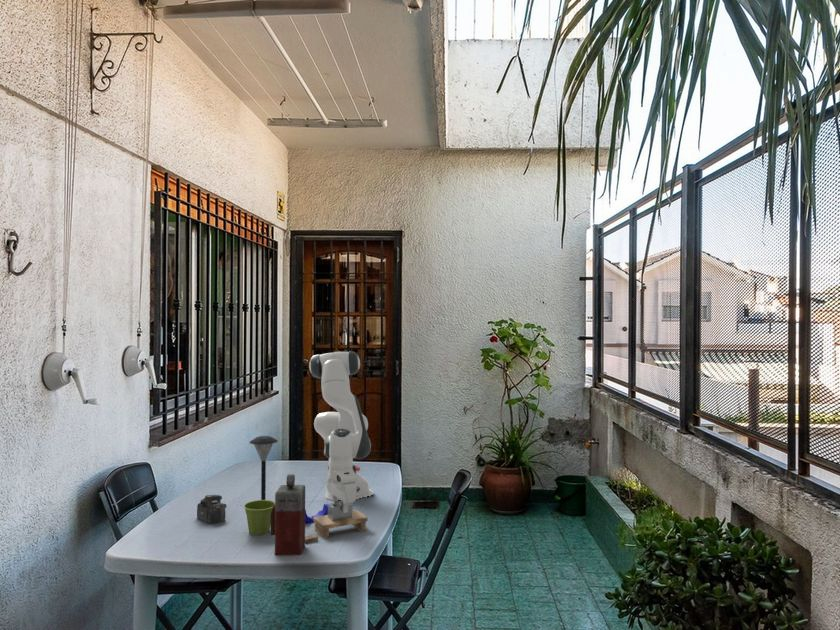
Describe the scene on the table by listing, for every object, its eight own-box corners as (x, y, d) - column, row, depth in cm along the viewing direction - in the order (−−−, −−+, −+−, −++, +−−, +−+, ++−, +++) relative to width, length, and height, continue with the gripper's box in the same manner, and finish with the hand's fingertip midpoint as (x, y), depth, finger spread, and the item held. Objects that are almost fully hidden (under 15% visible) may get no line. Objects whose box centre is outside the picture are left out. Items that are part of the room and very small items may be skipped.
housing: (327, 517, 222) (327, 501, 222) (347, 513, 226) (347, 498, 226) (332, 521, 218) (332, 505, 218) (352, 517, 222) (352, 501, 222)
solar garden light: (270, 512, 245) (270, 441, 245) (243, 510, 247) (243, 439, 247) (282, 503, 257) (283, 435, 257) (256, 501, 259) (257, 434, 259)
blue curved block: (325, 517, 240) (325, 502, 240) (330, 520, 236) (330, 505, 236) (297, 522, 233) (297, 507, 233) (302, 526, 230) (302, 510, 230)
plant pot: (258, 542, 212) (258, 511, 212) (236, 536, 218) (236, 506, 218) (282, 532, 222) (282, 503, 222) (260, 526, 228) (260, 497, 228)
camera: (233, 518, 238) (233, 494, 238) (216, 526, 228) (216, 501, 228) (207, 514, 242) (207, 490, 242) (189, 521, 233) (189, 497, 233)
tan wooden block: (314, 542, 213) (314, 534, 213) (317, 545, 211) (318, 536, 211) (301, 545, 210) (301, 537, 210) (305, 548, 208) (305, 539, 208)
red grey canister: (272, 550, 205) (273, 471, 205) (305, 550, 205) (305, 471, 205) (267, 561, 196) (268, 478, 196) (301, 561, 196) (301, 478, 197)
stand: (356, 524, 231) (356, 509, 231) (367, 533, 222) (367, 517, 222) (313, 533, 222) (313, 517, 222) (322, 542, 213) (322, 525, 213)
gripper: (322, 467, 229) (322, 502, 229) (343, 480, 212) (343, 518, 212) (337, 465, 232) (337, 500, 232) (359, 478, 215) (359, 515, 215)
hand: (340, 509), depth 222 cm, fingers open, 7 cm apart
